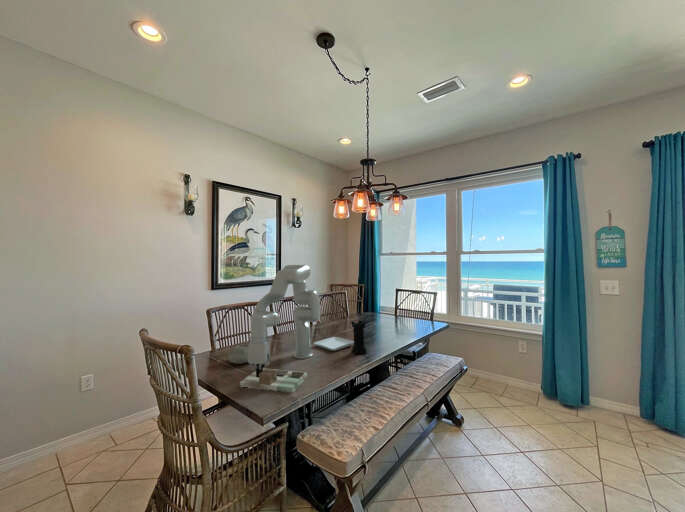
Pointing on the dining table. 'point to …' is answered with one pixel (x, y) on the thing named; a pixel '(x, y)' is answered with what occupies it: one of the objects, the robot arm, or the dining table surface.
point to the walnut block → (267, 376)
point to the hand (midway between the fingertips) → (259, 376)
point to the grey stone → (238, 354)
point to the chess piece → (358, 338)
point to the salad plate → (334, 343)
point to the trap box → (277, 381)
